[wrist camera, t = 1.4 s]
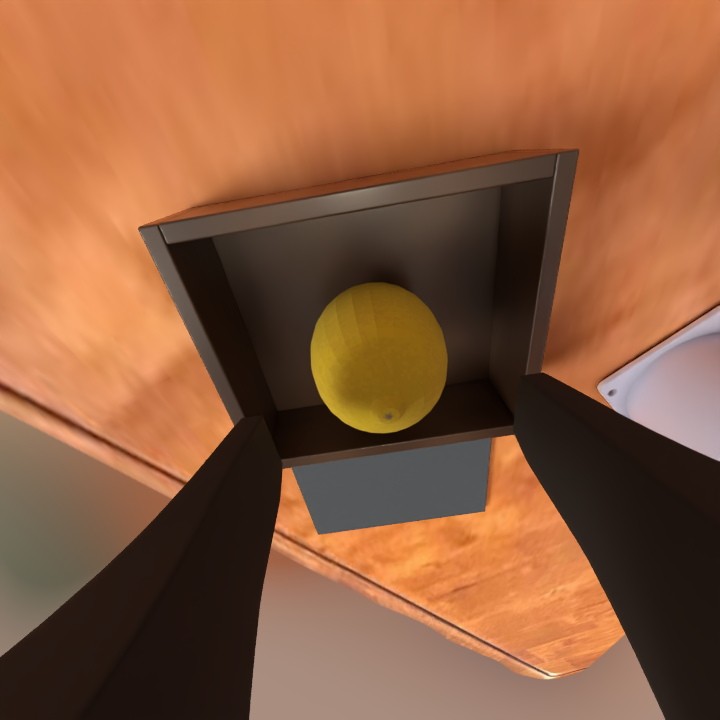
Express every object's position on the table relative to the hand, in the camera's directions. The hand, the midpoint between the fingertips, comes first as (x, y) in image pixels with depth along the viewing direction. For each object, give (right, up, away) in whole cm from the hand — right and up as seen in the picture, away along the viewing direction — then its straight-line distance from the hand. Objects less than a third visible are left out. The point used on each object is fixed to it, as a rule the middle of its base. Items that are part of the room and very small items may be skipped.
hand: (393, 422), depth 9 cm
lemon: (0, +4, +8) cm, 9 cm away
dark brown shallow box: (-1, +4, +8) cm, 9 cm away
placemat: (+1, -7, +15) cm, 16 cm away
